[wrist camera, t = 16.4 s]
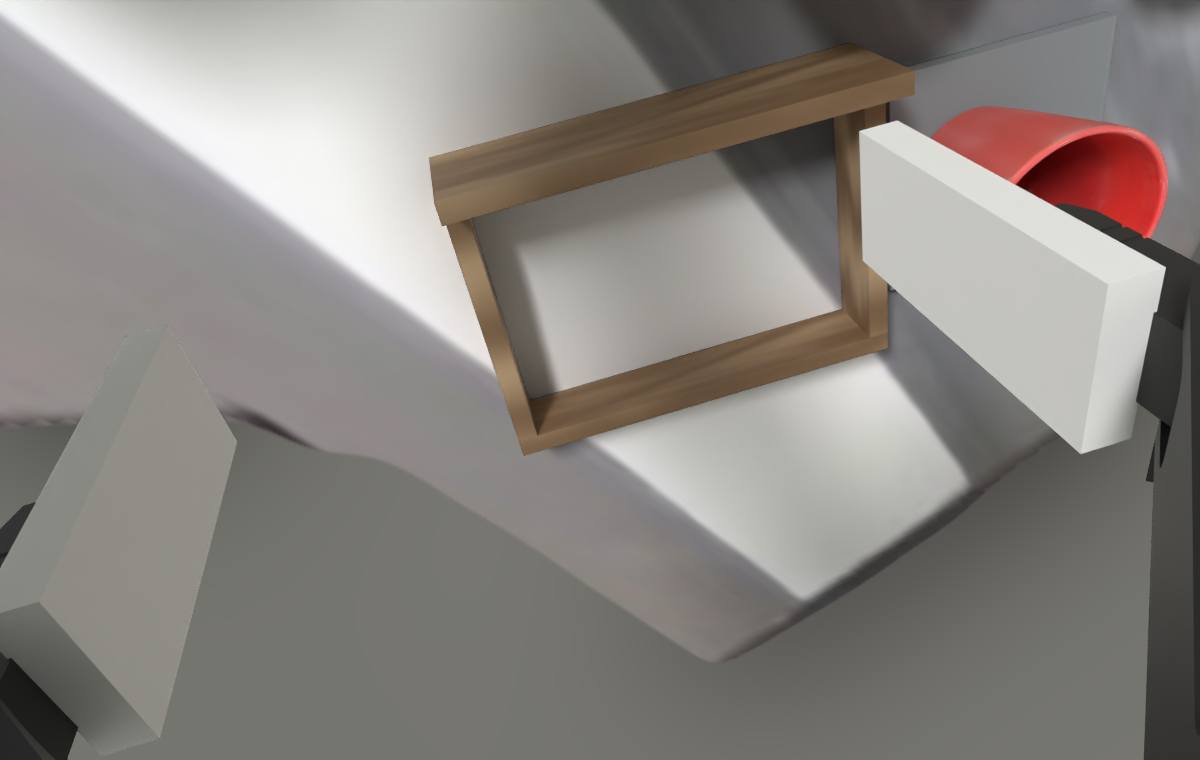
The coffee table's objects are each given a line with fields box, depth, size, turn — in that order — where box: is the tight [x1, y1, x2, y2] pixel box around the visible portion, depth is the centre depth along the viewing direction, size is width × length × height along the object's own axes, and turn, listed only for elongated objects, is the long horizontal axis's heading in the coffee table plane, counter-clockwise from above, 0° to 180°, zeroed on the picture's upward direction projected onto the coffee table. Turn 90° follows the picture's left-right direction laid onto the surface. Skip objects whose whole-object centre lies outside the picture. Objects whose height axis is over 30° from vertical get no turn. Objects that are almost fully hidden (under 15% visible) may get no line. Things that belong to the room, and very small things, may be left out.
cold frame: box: [429, 43, 915, 456], centre depth 49 cm, size 18×24×7 cm
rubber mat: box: [886, 12, 1117, 290], centre depth 52 cm, size 14×14×1 cm
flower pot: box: [930, 106, 1168, 238], centre depth 48 cm, size 11×11×10 cm
